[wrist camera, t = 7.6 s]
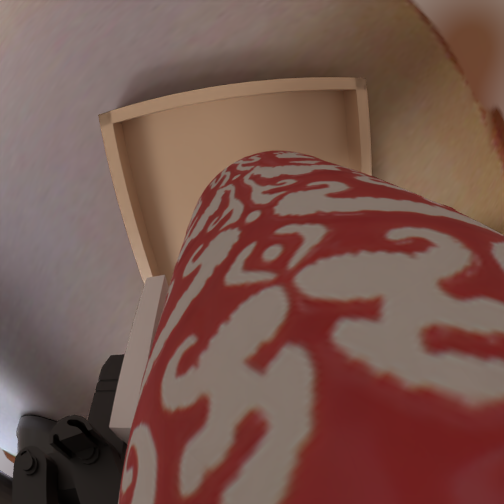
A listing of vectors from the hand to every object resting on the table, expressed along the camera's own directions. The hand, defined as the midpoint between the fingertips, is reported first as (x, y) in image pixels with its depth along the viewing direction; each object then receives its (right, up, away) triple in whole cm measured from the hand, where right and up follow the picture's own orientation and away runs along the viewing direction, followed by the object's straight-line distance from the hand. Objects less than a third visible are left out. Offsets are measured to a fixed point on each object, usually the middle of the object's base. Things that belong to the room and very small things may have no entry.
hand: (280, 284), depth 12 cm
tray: (-1, +4, +7) cm, 8 cm away
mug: (-1, +1, +2) cm, 2 cm away
